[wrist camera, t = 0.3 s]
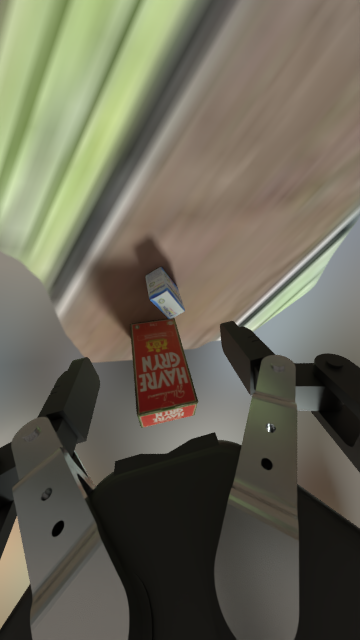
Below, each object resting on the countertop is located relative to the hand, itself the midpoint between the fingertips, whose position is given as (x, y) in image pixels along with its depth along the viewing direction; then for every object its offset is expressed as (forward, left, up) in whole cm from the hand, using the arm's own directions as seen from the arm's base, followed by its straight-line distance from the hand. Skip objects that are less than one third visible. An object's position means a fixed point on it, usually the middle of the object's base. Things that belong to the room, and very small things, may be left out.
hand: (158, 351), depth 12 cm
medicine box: (+16, -10, -31) cm, 37 cm away
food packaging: (+26, -25, -31) cm, 48 cm away
